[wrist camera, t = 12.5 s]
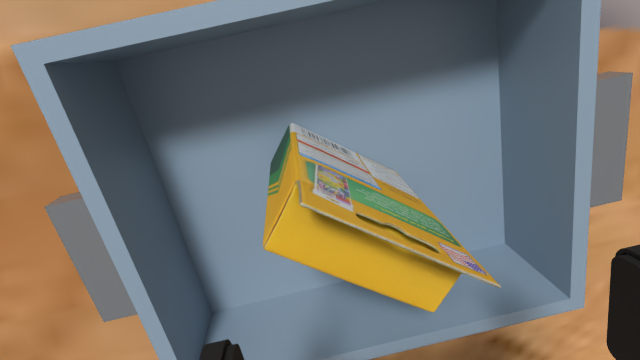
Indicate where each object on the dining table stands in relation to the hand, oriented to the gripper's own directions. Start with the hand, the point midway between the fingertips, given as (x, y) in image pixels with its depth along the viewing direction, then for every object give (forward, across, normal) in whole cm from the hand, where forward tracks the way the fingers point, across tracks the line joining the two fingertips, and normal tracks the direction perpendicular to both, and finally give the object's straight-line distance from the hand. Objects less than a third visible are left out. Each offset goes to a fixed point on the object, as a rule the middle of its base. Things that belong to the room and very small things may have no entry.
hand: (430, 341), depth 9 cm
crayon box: (+14, +1, 0) cm, 14 cm away
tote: (+15, 0, -1) cm, 15 cm away
